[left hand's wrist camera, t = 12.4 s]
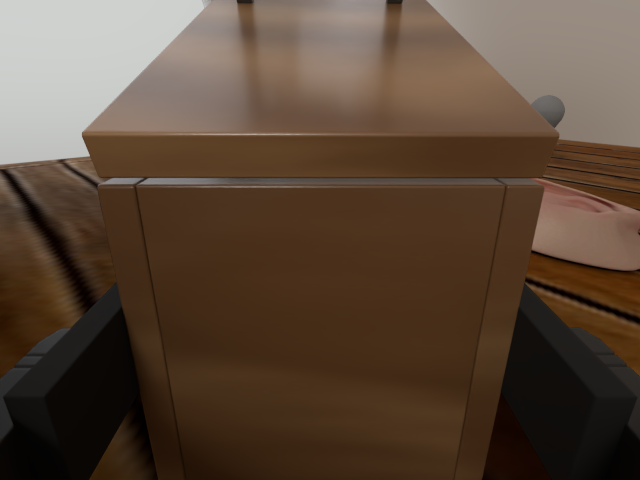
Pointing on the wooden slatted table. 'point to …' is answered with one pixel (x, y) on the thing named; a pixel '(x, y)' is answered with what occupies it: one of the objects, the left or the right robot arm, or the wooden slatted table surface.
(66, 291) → the wooden slatted table surface
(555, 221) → the anatomical model
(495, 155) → the lid
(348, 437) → the chest
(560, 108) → the light bulb
